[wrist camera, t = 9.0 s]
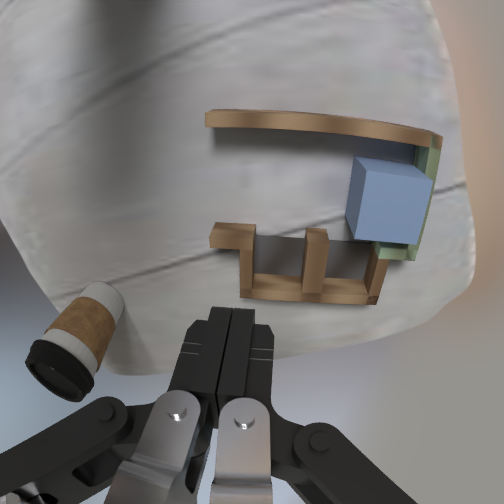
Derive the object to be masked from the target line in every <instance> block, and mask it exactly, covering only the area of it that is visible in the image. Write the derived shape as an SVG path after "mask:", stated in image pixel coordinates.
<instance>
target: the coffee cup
mask: <svg viewBox="0 0 504 504" xmlns="http://www.w3.org/2000/svg"><path fill="white" fill-rule="evenodd" d="M123 309H124V303H123V300H122V297H121V296H120V294H119V293H118V292H117V291H116V290H115V289H114V288H113V287H111V286H110V285H108V284H106V283H104V282H99V281H96V282H92V283H90V284H89V285H88V286H87V287H86V288H85V289H84V290H83V291H82V293H81V294H80V295H79V296H78V297H77V298H76V299H75V300H74V301H73V302H72V303H71V304H70V305H69V306H68V307H67V308H66V309H65V310H64V311H63V312H62V313H61V314H60V316H59V317H58V318H57V319H56V320H55V321H54V322H53V323H52V324H51V325H50V326H49V328H48V329H47V330H46V331H45V333H44V336H43V337H42V338H41V339H40V340H36V341H34V343H33V345H32V346H31V348H30V353H29V355H28V357H27V359H26V361H25V364H26V366H27V368H28V369H29V371H30V372H31V374H32V375H33V376H34V377H35V378H36V379H37V380H38V381H39V382H40V383H41V384H42V385H43V386H44V387H46V388H47V389H48V390H49V391H51V392H52V393H54V394H55V395H57V396H59V397H61V398H63V399H65V400H68V401H71V402H80V401H82V400H83V398H84V397H85V396H86V394H88V393H90V391H91V389H92V388H93V387H94V379H93V378H94V375H95V373H96V372H97V371H98V370H99V367H100V365H101V362H102V360H103V357H104V355H105V352H106V349H107V347H108V344H109V342H110V340H111V337H112V335H113V332H114V330H115V327H116V325H117V322H118V320H119V318H120V316H121V314H122V312H123Z"/></svg>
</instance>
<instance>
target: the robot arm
mask: <svg viewBox="0 0 504 504" xmlns="http://www.w3.org/2000/svg"><path fill="white" fill-rule="evenodd" d="M273 350H274V335H273V333H272V331H271V329H270V327H269V325H260V324H255V309H241V308H234V310H233V308H226V307H212V308H211V311H210V315H209V318H208V321H205V320H196V321H195V322H194V323H193V324H192V325H191V326H190V327H189V328H188V329H187V332H186V335H185V339H184V343H183V345H182V348H181V352H180V354H179V357H178V360H177V363H176V366H175V369H174V373H173V376H172V379H171V382H170V385H169V388H168V390H167V392H166V393H165V394H163V395H161V396H160V397H159V398H158V399H157V400H156V401H155V402H153V403H150V404H145V405H135V406H125V405H124V403H123V402H122V401H120V400H119V399H117V398H114V397H101V398H98V399H96V400H95V401H93V402H91V403H90V404H88V405H86V406H84V407H83V408H81V409H79V410H78V411H76V412H74V413H73V414H71V415H69V416H67V417H66V418H64V419H62V420H61V421H59V422H57V423H55V424H54V425H52V426H50V427H48V428H47V429H45V430H43V431H41V432H40V433H38V434H36V435H34V436H32V437H31V438H29V439H27V440H25V441H23V442H22V443H20V444H18V445H16V446H14V447H12V448H11V449H9V450H7V451H5V452H3V453H1V454H0V504H79V503H81V502H82V501H84V500H86V499H88V498H90V497H91V496H93V495H95V494H97V493H98V492H100V491H102V490H103V489H105V488H107V487H108V486H110V485H111V486H110V489H109V492H108V494H107V496H106V499H105V501H104V504H197V494H198V490H199V486H200V482H201V479H202V475H203V472H204V468H205V464H206V461H207V457H208V454H209V450H210V441H211V436H212V430H213V428H216V429H218V440H217V453H216V464H215V476H214V480H213V482H212V485H211V492H210V504H273V496H272V495H273V494H272V482H271V476H273V477H276V478H279V479H282V480H285V481H287V483H288V484H289V485H290V486H291V487H292V489H294V491H295V492H296V493H297V494H298V495H299V496H300V497H301V499H302V500H303V501H304V502H305V503H306V504H417V503H416V502H415V501H414V500H413V499H412V498H411V497H409V496H408V495H407V494H406V493H405V492H404V491H403V490H402V489H400V488H399V487H398V486H397V485H396V484H395V483H394V482H393V481H391V480H390V479H389V478H388V477H387V476H386V475H385V474H384V473H383V472H382V471H380V469H379V468H378V467H376V466H375V465H374V464H373V463H372V462H371V461H370V460H369V459H368V458H367V457H366V456H365V455H364V454H363V453H361V451H359V449H357V448H356V447H355V446H354V445H353V444H352V443H351V442H350V441H349V440H348V439H347V438H346V437H345V436H344V435H343V434H342V433H341V432H340V431H339V430H338V429H337V428H335V427H334V426H332V425H330V424H327V423H320V422H319V423H312V424H309V425H306V426H302V425H299V424H296V423H293V422H290V421H287V420H285V419H283V418H282V417H280V416H279V415H278V414H277V413H276V412H275V410H274V409H273V407H272V404H271V384H272V367H273Z"/></svg>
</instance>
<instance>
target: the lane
mask: <svg viewBox="0 0 504 504" xmlns="http://www.w3.org/2000/svg"><path fill="white" fill-rule="evenodd" d="M205 127H244V128H272V129H290V130H304V131H317V132H327V133H337V134H346V135H354V136H362V137H370V138H377V139H383V140H390V141H396V142H402V143H408V144H413V145H416V148H415V155H414V161H413V165H414V166H415V167H416V168H417V169H419V170H420V171H421V172H422V173H424V174H425V175H426V176H427V177H429V178H430V179H431V180H432V181H433V184H432V189H431V193H430V197H429V201H428V205H427V209H426V213H425V217H424V221H423V224H422V228H421V231H420V235H419V238H418V242H417V245H414V244H403V243H393V242H382V241H372V243H364V242H350V241H336V240H329V239H328V234H327V230H326V229H318V228H306V235H305V238H292V237H276V236H260V235H255V230H256V224H238V223H219V222H216V223H215V225H214V227H213V229H212V232H211V234H210V236H209V239H210V248H222V249H238V250H240V298H253V299H267V300H282V301H299V302H317V303H338V304H364V305H376V304H377V301H378V298H379V294H380V291H381V288H382V284H383V281H384V278H385V274H386V271H387V267H388V263H389V260H390V259H394V260H409V261H415V258H416V255H417V251H418V248H419V245H420V241H421V237H422V234H423V230H424V226H425V223H426V219H427V215H428V211H429V207H430V202H431V198H432V194H433V189H434V184H435V180H436V175H437V170H438V164H439V159H440V153H441V147H442V141H443V137H442V136H440V135H438V134H436V133H433V132H431V131H429V130H424V129H419V128H414V127H409V126H404V125H399V124H393V123H387V122H381V121H375V120H368V119H361V118H354V117H346V116H337V115H328V114H317V113H306V112H292V111H274V110H239V109H218V110H211V111H209V112H206V113H205Z"/></svg>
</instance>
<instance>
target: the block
mask: <svg viewBox="0 0 504 504" xmlns="http://www.w3.org/2000/svg"><path fill="white" fill-rule="evenodd" d="M432 184H433V181H432V180H431V179H430V178H429V177H427V176H426V175H425V174H424V173H422V172H421V171H420V170H419V169H417V168H416V167H415V166H414V165H411V164H406V163H400V162H394V161H388V160H381V159H375V158H368V157H361V156H354V159H353V167H352V174H351V181H350V187H349V194H348V200H347V206H346V212H345V216H346V219H347V221H348V224H349V226H350V229H351V231H352V234H353V237H354V239H361V240H372V241H382V242H393V243H403V244H414V245H417V242H418V238H419V235H420V231H421V228H422V224H423V221H424V217H425V213H426V209H427V205H428V201H429V197H430V193H431V189H432Z"/></svg>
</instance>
